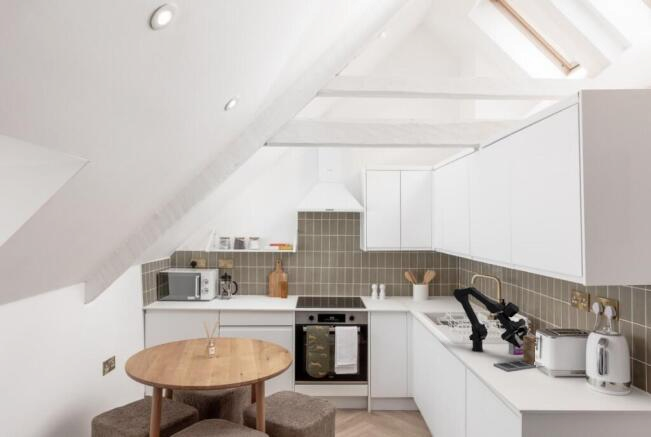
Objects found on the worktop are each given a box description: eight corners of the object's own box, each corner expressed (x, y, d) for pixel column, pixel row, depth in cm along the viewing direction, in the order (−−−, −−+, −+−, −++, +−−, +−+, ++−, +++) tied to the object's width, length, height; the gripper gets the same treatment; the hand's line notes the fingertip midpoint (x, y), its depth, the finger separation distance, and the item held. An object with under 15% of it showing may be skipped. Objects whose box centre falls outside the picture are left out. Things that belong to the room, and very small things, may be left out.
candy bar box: (523, 351, 253) (523, 323, 253) (529, 353, 248) (529, 325, 248) (507, 352, 250) (507, 325, 250) (513, 355, 245) (513, 326, 245)
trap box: (507, 372, 216) (507, 369, 216) (493, 366, 225) (493, 363, 225) (544, 367, 225) (544, 364, 225) (529, 361, 234) (529, 358, 234)
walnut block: (523, 363, 228) (523, 336, 229) (528, 362, 231) (528, 334, 232) (532, 366, 224) (532, 338, 225) (537, 364, 227) (537, 336, 227)
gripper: (506, 315, 230) (525, 341, 220) (525, 312, 240) (544, 336, 231) (493, 327, 236) (511, 352, 227) (512, 323, 247) (530, 346, 237)
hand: (524, 346), depth 230 cm, fingers open, 9 cm apart
